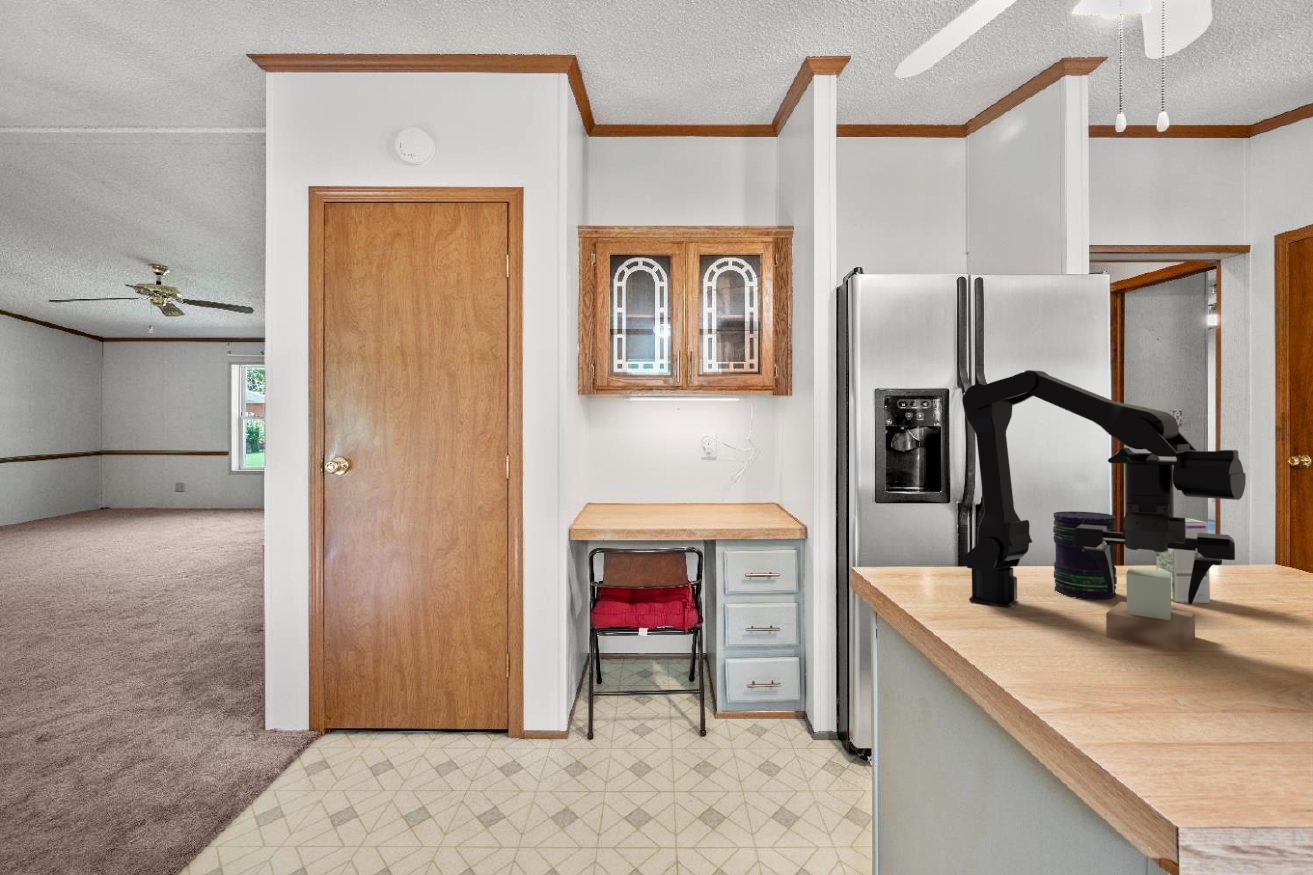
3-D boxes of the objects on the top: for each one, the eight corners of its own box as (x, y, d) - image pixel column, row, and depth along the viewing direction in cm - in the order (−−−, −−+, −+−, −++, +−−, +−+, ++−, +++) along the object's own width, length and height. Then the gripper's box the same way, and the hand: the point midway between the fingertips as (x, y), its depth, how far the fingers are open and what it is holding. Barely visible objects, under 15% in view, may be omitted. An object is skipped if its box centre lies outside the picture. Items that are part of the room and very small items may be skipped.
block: (1106, 639, 94) (1106, 612, 94) (1121, 626, 100) (1121, 601, 100) (1184, 654, 87) (1183, 626, 87) (1195, 639, 93) (1194, 613, 93)
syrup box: (1211, 603, 110) (1210, 521, 109) (1173, 602, 111) (1172, 521, 111) (1191, 595, 115) (1190, 517, 115) (1154, 594, 116) (1153, 516, 116)
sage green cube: (1127, 613, 93) (1126, 573, 93) (1129, 606, 97) (1128, 567, 97) (1170, 620, 90) (1169, 578, 90) (1171, 611, 94) (1170, 572, 93)
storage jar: (1130, 600, 113) (1129, 518, 113) (1075, 601, 113) (1074, 518, 113) (1092, 586, 123) (1091, 510, 123) (1042, 587, 123) (1041, 511, 123)
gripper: (1065, 495, 93) (1066, 599, 93) (1235, 503, 81) (1236, 623, 81) (1077, 489, 102) (1078, 584, 102) (1233, 495, 89) (1233, 604, 89)
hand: (1149, 598), depth 93 cm, fingers open, 9 cm apart
